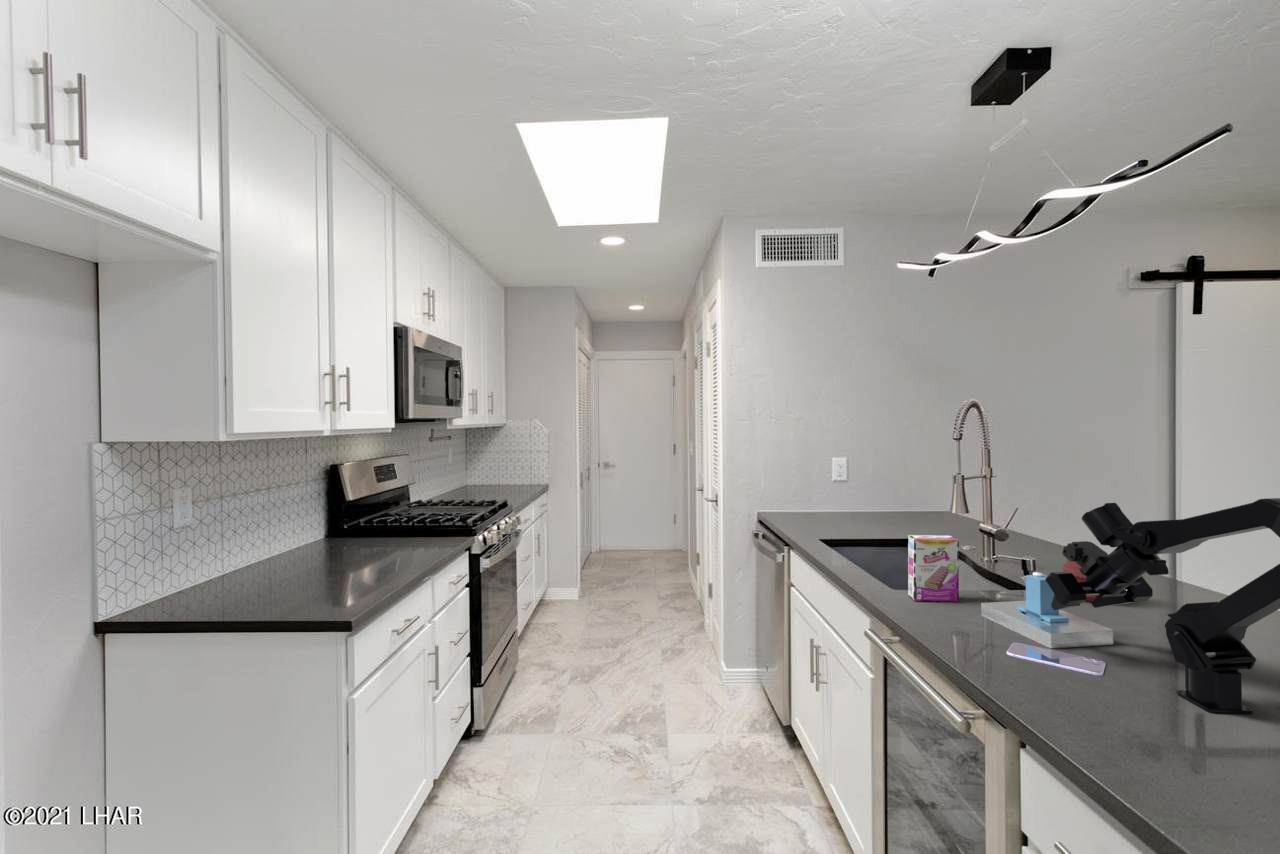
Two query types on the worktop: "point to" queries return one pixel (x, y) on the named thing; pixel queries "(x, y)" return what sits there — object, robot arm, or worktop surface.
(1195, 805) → the worktop surface
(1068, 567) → the mechanical component
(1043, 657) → the mobile phone
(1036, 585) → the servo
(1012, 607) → the plate
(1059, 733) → the worktop surface
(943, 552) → the candy bar box
